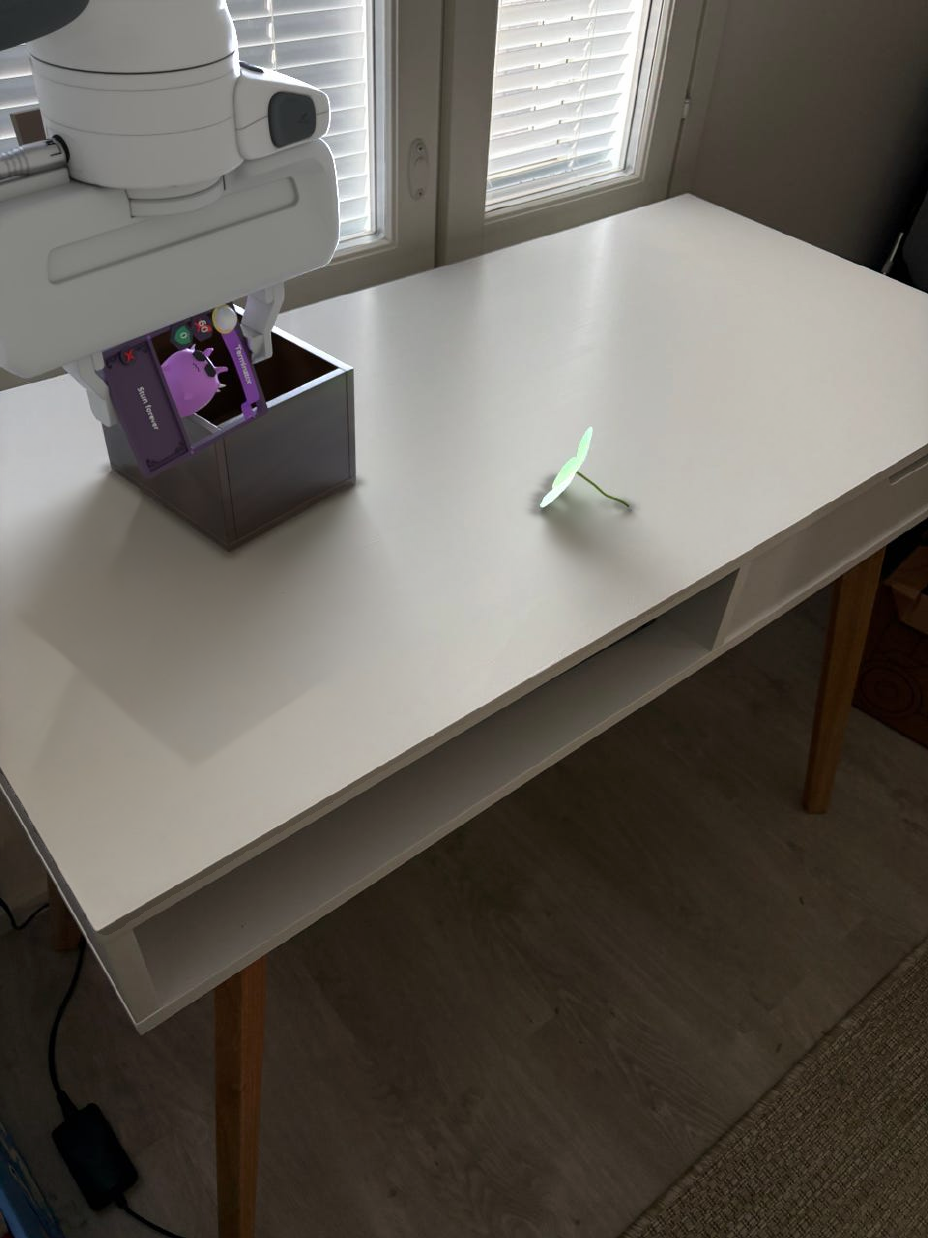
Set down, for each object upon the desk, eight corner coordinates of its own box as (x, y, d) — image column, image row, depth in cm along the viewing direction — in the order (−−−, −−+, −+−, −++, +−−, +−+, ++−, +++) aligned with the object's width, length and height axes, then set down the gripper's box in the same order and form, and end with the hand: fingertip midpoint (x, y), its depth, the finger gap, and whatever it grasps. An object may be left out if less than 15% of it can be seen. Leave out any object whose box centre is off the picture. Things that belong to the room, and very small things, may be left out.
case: (356, 481, 86) (353, 367, 79) (229, 553, 78) (213, 434, 71) (238, 410, 93) (226, 299, 86) (111, 469, 85) (85, 353, 78)
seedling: (584, 548, 89) (526, 506, 87) (633, 474, 89) (576, 430, 88) (615, 551, 82) (552, 504, 80) (668, 469, 82) (607, 421, 81)
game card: (105, 354, 49) (239, 295, 55) (48, 355, 52) (180, 299, 58) (156, 480, 52) (277, 412, 58) (99, 474, 55) (219, 410, 61)
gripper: (-38, 192, 38) (47, 489, 48) (355, 91, 50) (361, 346, 59) (-116, 148, 41) (-21, 435, 51) (272, 62, 53) (290, 309, 62)
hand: (187, 386), depth 55 cm, fingers closed on game card, 8 cm apart
